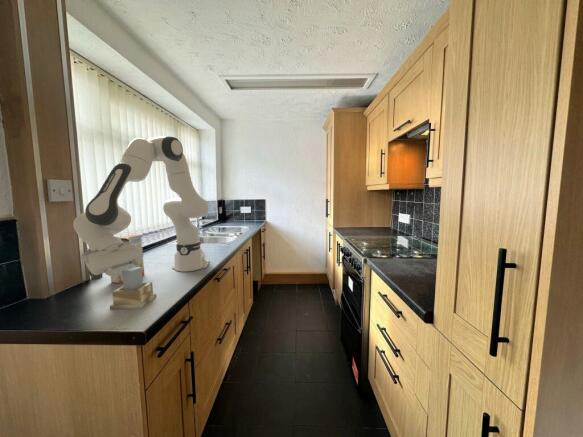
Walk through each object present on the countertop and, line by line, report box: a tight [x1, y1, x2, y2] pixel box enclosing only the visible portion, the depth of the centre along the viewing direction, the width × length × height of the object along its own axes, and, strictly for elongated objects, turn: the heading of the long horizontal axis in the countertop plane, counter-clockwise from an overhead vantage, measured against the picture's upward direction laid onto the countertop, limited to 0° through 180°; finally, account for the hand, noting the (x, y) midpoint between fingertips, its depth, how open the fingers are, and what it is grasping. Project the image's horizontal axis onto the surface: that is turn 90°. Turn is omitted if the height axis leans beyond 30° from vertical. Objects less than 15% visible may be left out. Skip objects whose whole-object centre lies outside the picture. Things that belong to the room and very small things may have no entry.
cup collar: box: [109, 281, 157, 310], centre depth 98 cm, size 11×11×6 cm
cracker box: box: [110, 234, 145, 284], centre depth 126 cm, size 14×6×21 cm, turn 162°
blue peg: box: [122, 267, 144, 290], centre depth 98 cm, size 4×4×12 cm
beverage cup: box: [86, 248, 104, 280], centre depth 128 cm, size 7×7×20 cm
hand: (129, 274), depth 98 cm, fingers open, 8 cm apart
